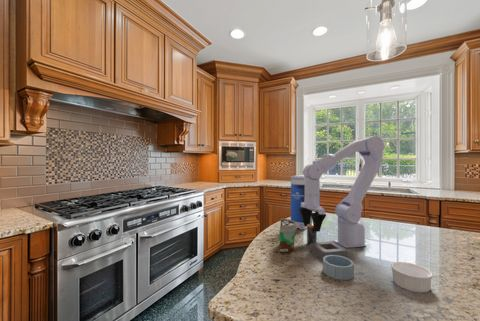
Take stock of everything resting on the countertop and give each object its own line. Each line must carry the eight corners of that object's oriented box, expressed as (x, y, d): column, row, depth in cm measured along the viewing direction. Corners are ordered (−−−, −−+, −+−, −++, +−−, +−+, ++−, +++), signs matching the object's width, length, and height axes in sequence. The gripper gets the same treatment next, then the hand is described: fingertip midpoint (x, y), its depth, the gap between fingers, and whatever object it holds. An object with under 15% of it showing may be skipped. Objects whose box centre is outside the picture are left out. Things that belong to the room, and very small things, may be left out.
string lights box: (304, 230, 109) (305, 176, 110) (289, 227, 114) (289, 175, 114) (312, 224, 121) (312, 175, 121) (298, 222, 125) (298, 174, 125)
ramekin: (435, 298, 55) (435, 280, 55) (391, 287, 60) (391, 271, 60) (429, 282, 63) (429, 266, 63) (390, 273, 67) (390, 259, 67)
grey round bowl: (340, 265, 73) (340, 254, 73) (359, 278, 65) (359, 265, 65) (317, 267, 71) (317, 256, 71) (334, 281, 63) (334, 268, 63)
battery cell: (313, 242, 93) (313, 222, 93) (318, 245, 90) (318, 224, 90) (305, 242, 93) (305, 223, 93) (310, 246, 89) (310, 225, 89)
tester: (331, 249, 86) (331, 240, 86) (348, 259, 77) (348, 249, 77) (310, 251, 84) (310, 242, 84) (324, 261, 75) (324, 251, 75)
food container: (297, 256, 79) (297, 227, 79) (279, 255, 80) (279, 226, 80) (296, 244, 91) (296, 218, 91) (280, 242, 92) (280, 218, 92)
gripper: (294, 192, 97) (294, 224, 97) (312, 197, 83) (312, 234, 83) (309, 191, 99) (309, 223, 99) (329, 196, 85) (329, 233, 85)
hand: (311, 228), depth 91 cm, fingers open, 7 cm apart
